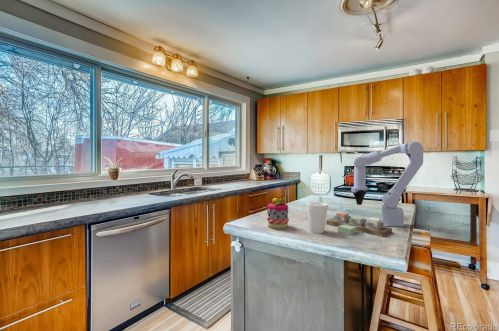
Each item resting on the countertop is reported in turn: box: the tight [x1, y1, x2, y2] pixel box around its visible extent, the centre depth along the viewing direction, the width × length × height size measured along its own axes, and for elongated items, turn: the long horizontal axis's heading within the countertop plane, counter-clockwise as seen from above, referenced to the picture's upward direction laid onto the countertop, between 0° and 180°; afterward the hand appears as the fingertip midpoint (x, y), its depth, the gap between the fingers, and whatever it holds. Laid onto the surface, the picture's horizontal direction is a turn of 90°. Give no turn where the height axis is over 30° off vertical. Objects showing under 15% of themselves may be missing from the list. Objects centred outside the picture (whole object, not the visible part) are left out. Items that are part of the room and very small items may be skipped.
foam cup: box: [306, 201, 329, 234], centre depth 119 cm, size 10×9×13 cm
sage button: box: [351, 215, 365, 221], centre depth 124 cm, size 4×4×3 cm
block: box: [337, 224, 358, 235], centre depth 118 cm, size 6×6×2 cm
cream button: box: [366, 217, 382, 224], centre depth 118 cm, size 4×4×3 cm
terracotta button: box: [335, 211, 350, 218], centre depth 130 cm, size 4×4×3 cm
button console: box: [326, 215, 393, 238], centre depth 125 cm, size 28×10×4 cm, turn 41°
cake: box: [266, 197, 290, 230], centre depth 127 cm, size 10×11×15 cm
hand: (359, 204), depth 136 cm, fingers closed
